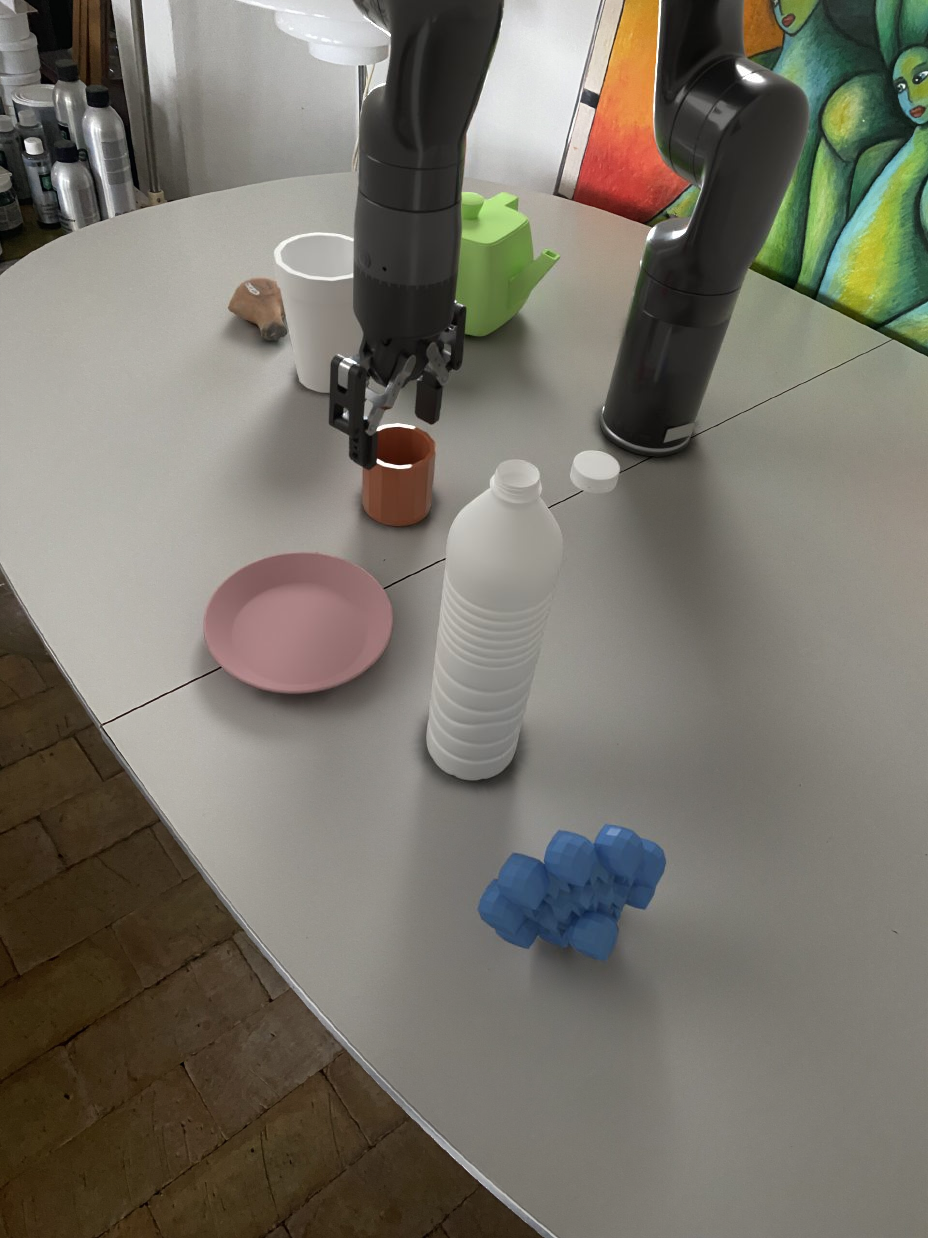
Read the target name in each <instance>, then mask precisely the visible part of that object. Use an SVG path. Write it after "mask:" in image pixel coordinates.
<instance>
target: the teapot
mask: <svg viewBox="0 0 928 1238" xmlns="http://www.w3.org/2000/svg"><path fill="white" fill-rule="evenodd" d="M560 259H561V254H559V253H557V252H555V251H554V250H552V249H549V248H548V247H547V248H545V249H543V251H541V252H540V255H539V256H537V257H536V258H535V257H534V245H533V237H532V229H531V224H530V219H529V218H528V217H527V216H526V215H525V214H523V213H522V212H520V211H519V196H516V195H514V194H511V193H509V192H506V191H501V192H500V193H497V194H496V195H494V196H492V197H491V198H485V197H484V196H482V195H481V194H479V193H476V192H471V191H462V238H461V247H460V257H459V267H458V277H457V287H456V297H455V302H458V303H459V304H461V305H463V306H465V307H466V309H467V310H466V323H465V335H470V336H474V337H484V336H487V335H489V334H491V333H492V332H495V330H497V329H499V328H500V327H501V326H503V325H504V324H506V323H507V322H508V321H509V320H511V319H512V318H513V317H514V316H515V315H516V314H517V313H519V312H520V311H521V309H523V307H524V306H525V304H526V302H527V301H528V299H529V297H530V295H531V293H532V290H534V289H535V287H536V286H537V285H538V284H539V283H540V281H542V280H543V278H544V277H545V276H546V274H548V272H549V271H550V270H551V269H552V268H553V267H554V266H555V264H556V263H557V262H558V261H559V260H560Z"/></svg>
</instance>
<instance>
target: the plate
mask: <svg viewBox="0 0 928 1238" xmlns="http://www.w3.org/2000/svg"><path fill="white" fill-rule="evenodd" d="M393 628H394V611H393V607H392V603H391V600H390V598H389V596H388V594H387V592H386V590H385V589H384V587H383V586H382V585H381V584H380V582H379V581H378V580H377V579H376V578H375V577H374V576H373V575H372V574H371V573H370V572H368V571H367V570H365V569H364V568H362V567H361V566H359V565H357V564H355V563H353V562H351V561H349V560H346V559H344V558H342V557H338V556H335V555H331V554H327V553H321V552H312V551H294V552H293V551H292V552H283V553H279V554H274V555H270V556H266V557H261V558H260V559H257V560H254V561H252V562H250V563H248V564H246V565H244V566H243V567H240V568H239V569H237V570H236V571H234V572H233V573H232V574H230V575H229V576H227V577H226V579H224V580H223V581H222V582H221V583H220V585H218V587H217V588H216V589H215V591H214V592H213V594H212V595H211V597H210V599H209V600H208V603H207V605H206V608H205V611H204V615H203V621H202V629H203V638H204V641H205V644H206V646H207V649H208V650H209V653H210V654H211V657H212V658H213V659H214V660H215V662H216V663H217V664H218V665H219V666H220V667H221V668H222V669H223V670H224V671H225V672H226V673H227V674H229V675H230V676H232V677H233V678H234V679H236V680H238V681H240V682H242V683H244V684H246V685H248V686H251V687H253V688H256V689H259V690H262V691H266V692H272V693H277V694H289V695H291V694H293V695H295V694H298V695H299V694H309V693H317V692H321V691H322V692H323V691H325V690H329V689H332V688H336V687H339V686H341V685H344V684H345V683H348V682H350V681H352V680H354V679H356V678H358V677H359V676H360V675H362V674H363V673H365V672H366V671H367V670H368V669H369V668H371V667H372V666H373V665H374V664H375V663H376V662H377V660H379V658H380V657H381V656H382V654H383V653H384V652H385V650H386V648H387V646H388V645H389V642H390V639H391V637H392V632H393Z"/></svg>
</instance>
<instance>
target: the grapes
mask: <svg viewBox="0 0 928 1238" xmlns="http://www.w3.org/2000/svg"><path fill="white" fill-rule="evenodd" d="M666 865H667V858H666V855H665V851H664V848H662V847H661V846H660V845H659V844H657V843H656V841H652V840H650V839H647V838H644V837H641V836H640V835H638V834H637V833H636V832H635V831H634V830H632V829H630V828H627V827H624V826H622V825H616V824H612V823H611V824H610V823H604V825H602V827H601V829H600V831H599V832H598V834H597V835H596V837H595V838H594V841H593V842H592V841H591V840H590V839H589V838H588V837H586V836H584V835H581V834H579V833H576V832H572V831H568V830H561V829H558V830H557V831H556V832H555V833H554V834H553V836H552V838H551V839H550V841H549V842H548V844H547V846H546V848H545V851H544V856H543V861H541V860H540V859H538V858H535V857H532V856H530V855H526V854H523V853H519V852H512V853H511V854H510V855H509V857H508V858H507V859H506V860H505V862H504V863H503V865H502V866H501V868H500V870H499V872H498V878H493V879H492V880H491V881H490V883H488V885H487V886H486V888H485V889H484V891H483V892H482V894H481V896H480V898H479V902H478V906H477V912H478V915H479V918H480V920H482V921H483V922H484V923H485V924H486V925H488V926H489V927H490V928H492V929H494V932H495V934H496V935H497V936H498V937H500V938H501V939H502V940H503V941H505V942H507V943H508V944H511V945H513V946H516V947H519V948H521V949H526V950H529V949H530V948H531V946H532V945H533V944H534V943H535V941H536V939H537V938H538V937H540V938H541V939H542V940H543V941H545V942H548V943H550V944H553V945H555V946H558V947H563V948H567V947H568V946H570V947H572V948H573V949H574V950H575V951H577V952H578V953H580V954H581V955H583V956H585V957H587V958H590V959H594V960H597V961H600V962H604V963H605V962H607V960H608V959H609V957H610V956H611V954H612V952H613V950H614V949H615V946H616V945H617V940H618V937H619V933H620V931H619V925H618V922H619V920H620V918H621V916H622V912H623V910H624V907H625V905H626V906H630V907H632V908H634V909H639V910H644V911H646V910H647V909H648V906H649V905H650V903H651V901H652V900H653V898H654V896H655V893H656V889H657V885H658V884H659V883H660V881H661V879H662V877H663V875H664V873H665V869H666Z"/></svg>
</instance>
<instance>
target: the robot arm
mask: <svg viewBox="0 0 928 1238" xmlns="http://www.w3.org/2000/svg"><path fill="white" fill-rule="evenodd" d="M352 2H353V5H355V8H357V10H358V11H359V12H360V13H361V15H362V16H363V18H364V19H366V20H367V21H369V22H370V23H371V24H372V25H374V26H375V27H376V28H378V29H379V30H381V31H382V32H384V33H386V34H387V35H388V36H389V38H390V41H389V42H390V48H389V49H390V51H389V52H390V53H389V60H388V67H387V74H386V78H385V83H381V84H378V85H377V86H375V87H373V88H372V89H371V90H370V91H369V92H368V93H367V94H366V95H365V98H364V100H363V101H362V103H361V107H360V113H359V114H360V116H359V123H358V140H357V141H358V142H357V144H358V145H357V156H358V157H357V194H356V201H355V208H354V216H353V238H354V250H353V310H354V314H355V316H356V318H357V320H358V322H359V324H360V326H361V328H362V331H363V338H362V342H361V345H360V348H359V353H358V354H356V355H354V356H352V357H351V358H349V359H347V358H345V357H343V356H341V355H339V354H337V355H335V356H334V357H333V359H332V361H331V365H330V393H329V396H328V397H329V398H328V399H329V400H328V425H329V426H330V427H332V428H334V429H335V430H338V431H339V432H341V433H343V434H345V435H347V436H348V458H349V459H350V460H351V461H352V462H353V463H355V464H356V465H358V466H360V467H361V468H362V469H363V468H365V469H367V470H371V469H372V468H373V467H375V466H376V465H377V447H378V431H377V428H378V427H379V425H380V423H381V421H382V419H383V417H384V414H385V412H386V411H388V410H391V409H392V408H394V405H395V403H396V401H397V399H398V397H399V394H400V393H401V391H402V389H404V388H405V387H406V386H407V385H408V384H409V383H410V382H413V381H416V388H415V400H414V401H415V402H414V415H415V417H416V418H417V419H418V420H420V421H423V422H424V423H426V424H428V425H430V426H433V425H435V424H436V423H437V422H439V421H440V418H441V417H440V416H441V409H442V401H443V393H444V392H443V391H444V386H446V385H447V384H448V382H449V379H450V372H451V371H452V370H453V371H455V372H458V371H459V370H460V369H461V368H462V365H463V362H464V350H465V349H464V347H465V335H466V334H465V323H466V310H467V309H466V307H465V306H463V305H461V304H459V303H458V302H455V297H456V287H457V277H458V267H459V257H460V247H461V238H462V192H463V187H464V177H465V167H466V156H467V144H468V133H469V129H470V126H471V124H472V120H473V118H474V115H475V113H476V110H477V108H478V105H479V102H480V99H481V96H482V93H483V90H484V87H485V84H486V80H487V78H488V75H489V71H490V68H491V65H492V61H493V58H494V56H495V52H496V49H497V45H498V41H499V38H500V34H501V29H502V23H503V19H504V11H505V0H352ZM658 4H659V5H658V28H657V45H656V63H655V77H654V78H655V79H654V93H653V135H654V142H655V147H656V151H657V152H658V154H659V156H660V158H661V160H662V161H663V163H664V164H665V165H666V167H667V168H668V169H670V170H671V172H673V173H674V174H675V175H677V176H678V177H680V178H681V179H683V180H685V181H686V182H687V183H689V184H691V185H692V186H693V187H695V188H697V189H698V190H700V192H699V195H698V198H697V201H696V204H695V206H694V209H693V211H692V214H691V216H679V217H678V215H677V216H676V215H674V214H670V216H669V214H668V213H667V211H666V210H664V212H663V214H662V215H663V216H664V217H667V218H668V217H669V218H668V219H664V220H662V221H660V222H658V223H656V224H655V225H654V226H653V227H652V228H651V229H650V230H649V232H648V234H647V236H646V238H645V242H644V246H643V249H642V254H641V259H640V262H639V265H638V270H637V273H636V278H635V282H634V285H633V290H632V294H631V299H630V303H629V306H628V311H627V315H626V319H625V323H624V326H623V331H622V335H621V339H620V342H619V347H618V350H617V354H616V359H615V362H614V365H613V371H612V375H611V377H610V378H611V379H610V383H609V386H608V390H607V394H606V398H605V402H604V406H603V408H602V410H601V415H600V419H599V425H600V428H601V431H602V433H603V434H604V435H605V437H606V438H607V439H608V440H610V441H611V442H612V443H613V444H615V445H616V446H618V447H619V448H621V449H623V450H626V451H627V452H630V453H634V454H637V455H640V456H641V455H642V456H646V457H647V456H648V457H665V456H666V457H667V456H672V455H675V454H677V453H679V452H681V451H683V450H684V449H685V448H686V447H687V446H688V445H689V443H690V440H691V437H692V434H693V431H694V428H695V426H696V423H697V422H696V419H697V417H698V414H699V411H700V408H701V405H702V403H703V401H704V397H705V394H706V391H707V389H708V385H709V383H710V380H711V377H712V374H713V371H714V368H715V365H716V362H717V360H718V357H719V354H720V351H721V348H722V345H723V342H724V339H725V336H726V333H727V332H728V327H729V325H730V322H731V318H732V317H733V313H734V310H735V307H736V304H737V301H738V299H739V295H740V293H741V289H742V287H743V285H744V282H745V279H746V276H747V273H748V271H749V269H750V267H751V265H752V264H753V263H754V261H755V260H756V258H757V257H758V255H759V254H760V253H761V251H762V249H763V248H764V247H765V246H764V245H765V244H766V242H767V240H768V238H769V235H770V234H771V230H772V228H773V225H774V223H775V220H776V218H777V216H778V213H779V211H780V209H781V206H782V204H783V201H784V199H785V196H786V194H787V192H788V189H789V187H790V184H791V182H792V180H793V177H794V175H795V173H796V170H797V168H798V164H799V162H800V160H801V157H802V154H803V151H804V148H805V145H806V141H807V138H808V134H809V133H808V132H809V127H810V120H811V119H810V118H811V117H810V115H811V112H810V110H811V109H810V103H809V99H808V96H807V94H806V93H805V91H804V89H802V88H801V87H800V86H799V84H797V83H795V82H793V81H792V80H790V79H789V78H787V77H785V76H783V75H781V74H778V73H777V72H775V71H773V70H771V69H770V68H766V67H765V66H763V65H761V64H759V63H757V62H755V61H753V60H751V59H749V58H748V56H747V53H746V48H745V37H744V15H745V13H744V12H745V0H659V3H658ZM445 344H446V345H448V346H449V347H450V351H448V350H446V349H445V346H446V345H445ZM371 379H372V380H373V381H374V382H375V383H376V384H378V385H379V386H381V387H383V388H385V390H384V392H383V393H378V392H377V391H374V390H373V389H371V388H370V387H369V385H370V380H371ZM366 401H370V402H371V403H372V407H371V409H370V411H369V414H368V415H365V406H366V405H365V404H366ZM345 409H346V411H345Z"/></svg>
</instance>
